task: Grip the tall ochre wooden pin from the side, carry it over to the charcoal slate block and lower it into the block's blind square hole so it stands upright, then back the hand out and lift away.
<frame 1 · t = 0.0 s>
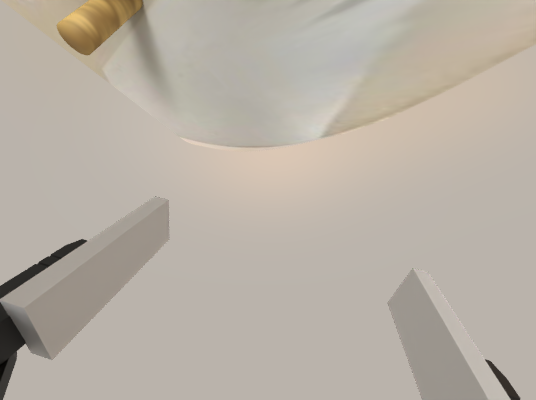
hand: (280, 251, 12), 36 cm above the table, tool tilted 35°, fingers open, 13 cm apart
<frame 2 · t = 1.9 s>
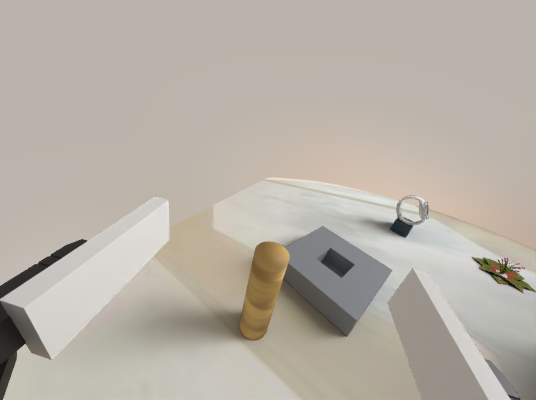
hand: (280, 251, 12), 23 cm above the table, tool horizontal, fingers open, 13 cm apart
ochre pin: (253, 325, 31), on the table
watch: (400, 230, 64), on the table
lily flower: (499, 275, 54), on the table
hole block: (328, 276, 42), on the table
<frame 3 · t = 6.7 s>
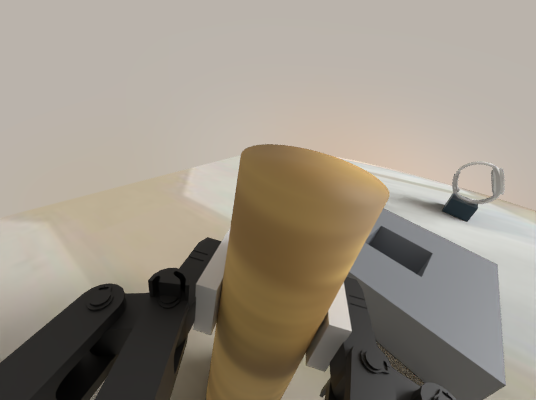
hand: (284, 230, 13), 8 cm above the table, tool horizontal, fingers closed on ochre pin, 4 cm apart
ochre pin: (241, 391, 13), on the table, touching gripper
watch: (455, 213, 45), on the table
hole block: (380, 274, 24), on the table
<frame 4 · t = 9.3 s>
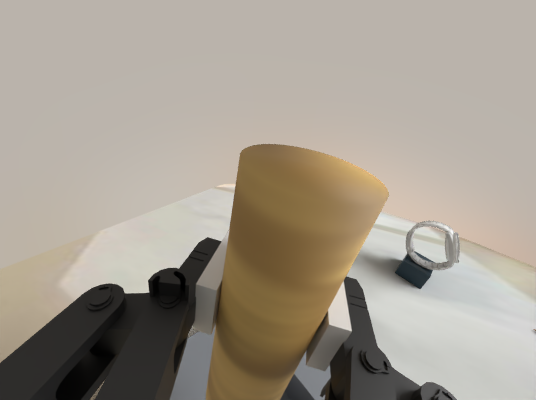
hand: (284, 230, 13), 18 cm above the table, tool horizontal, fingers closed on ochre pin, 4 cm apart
ochre pin: (241, 391, 13), point 10 cm above the table, touching gripper
watch: (410, 274, 40), on the table
when the fingers open (9 cm above the table, at t = 12.0 s): ochre pin stays where it is, resting on hole block.
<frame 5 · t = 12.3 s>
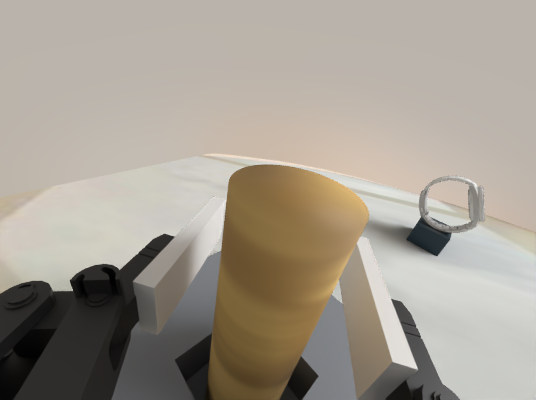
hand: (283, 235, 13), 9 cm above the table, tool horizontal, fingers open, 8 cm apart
ochre pin: (239, 396, 13), point 1 cm above the table, touching hole block
watch: (424, 242, 35), on the table
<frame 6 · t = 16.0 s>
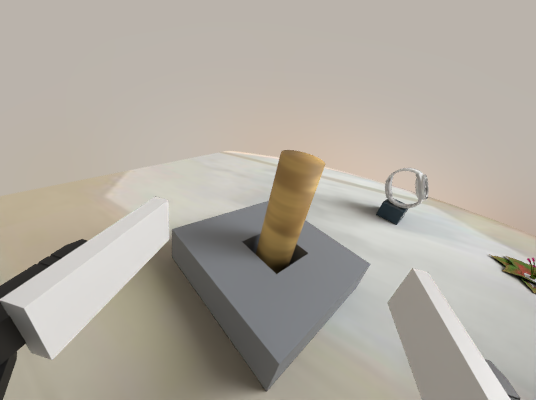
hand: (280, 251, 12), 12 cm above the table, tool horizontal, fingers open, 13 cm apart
ochre pin: (268, 269, 26), resting on hole block
watch: (389, 217, 48), on the table
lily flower: (529, 281, 38), on the table
hole block: (267, 272, 26), on the table
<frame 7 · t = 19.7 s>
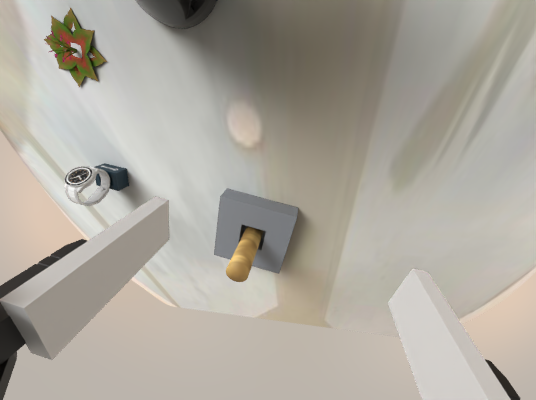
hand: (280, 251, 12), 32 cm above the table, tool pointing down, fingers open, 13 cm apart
ochre pin: (255, 228, 50), resting on hole block
watch: (117, 173, 51), on the table
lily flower: (79, 51, 40), on the table
hole block: (255, 227, 50), on the table
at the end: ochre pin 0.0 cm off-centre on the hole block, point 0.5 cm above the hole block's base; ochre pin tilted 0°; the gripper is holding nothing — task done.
